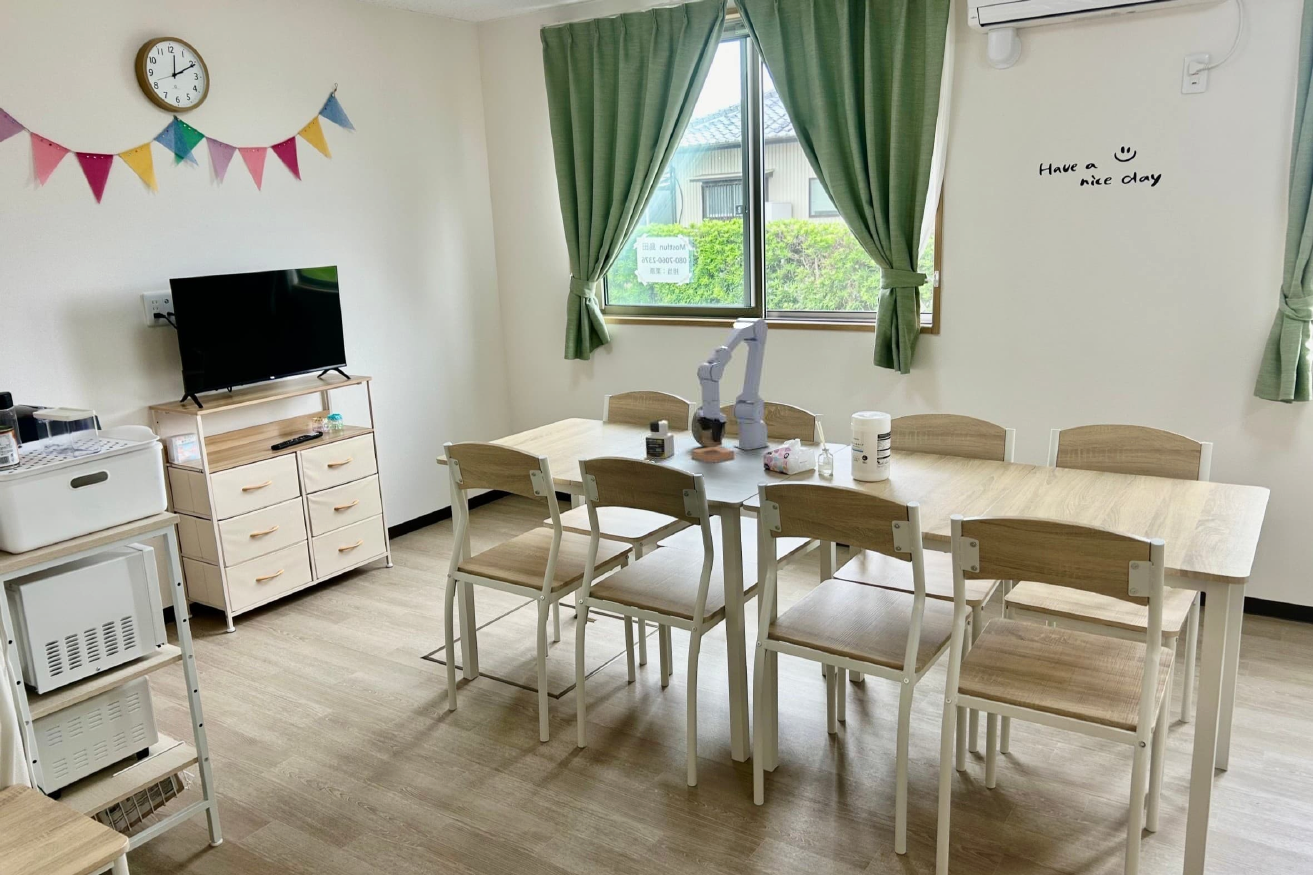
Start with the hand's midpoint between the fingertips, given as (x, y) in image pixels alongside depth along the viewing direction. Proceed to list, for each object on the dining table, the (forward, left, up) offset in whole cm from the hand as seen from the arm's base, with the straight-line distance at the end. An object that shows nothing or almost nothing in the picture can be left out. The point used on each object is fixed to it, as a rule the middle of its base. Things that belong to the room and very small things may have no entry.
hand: (712, 440), depth 315 cm
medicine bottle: (+11, -15, -6) cm, 20 cm away
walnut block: (0, 0, -2) cm, 2 cm away
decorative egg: (-9, -15, -6) cm, 19 cm away
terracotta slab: (0, 0, -6) cm, 6 cm away
